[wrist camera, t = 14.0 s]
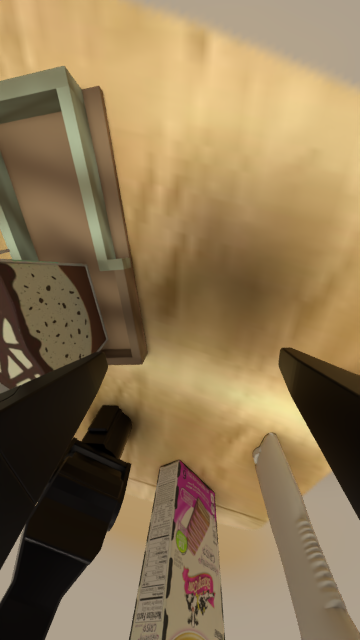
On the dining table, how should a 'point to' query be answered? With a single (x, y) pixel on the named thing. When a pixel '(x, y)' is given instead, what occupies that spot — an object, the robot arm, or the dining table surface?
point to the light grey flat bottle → (300, 550)
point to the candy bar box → (180, 563)
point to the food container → (45, 318)
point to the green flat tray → (68, 195)
